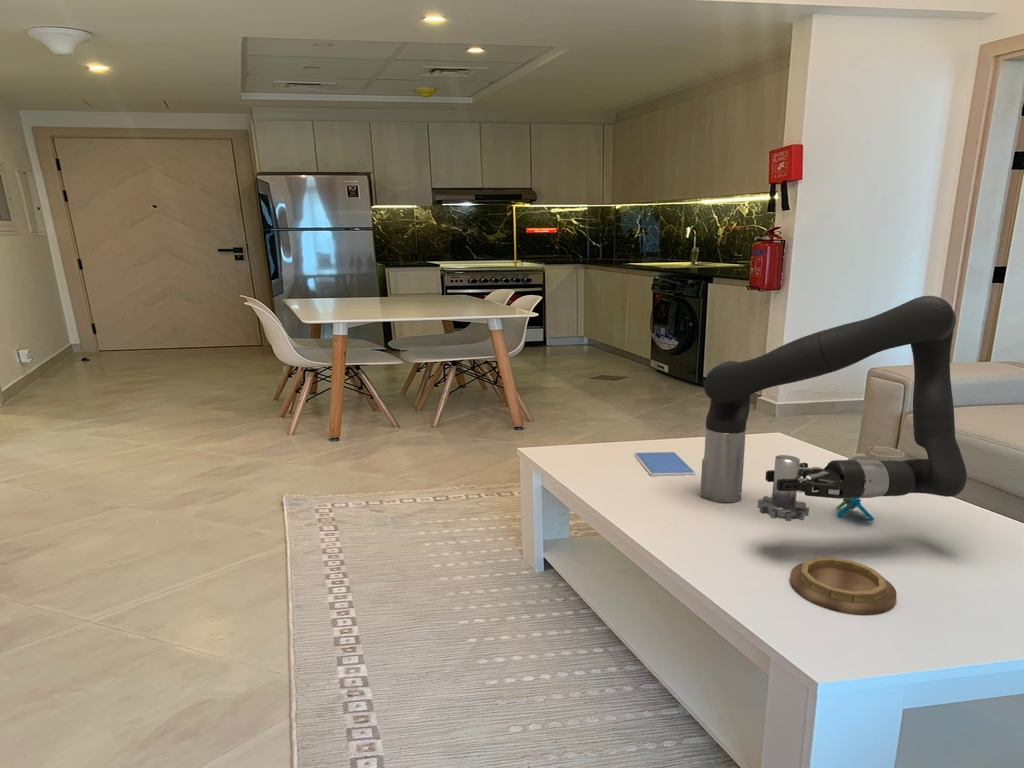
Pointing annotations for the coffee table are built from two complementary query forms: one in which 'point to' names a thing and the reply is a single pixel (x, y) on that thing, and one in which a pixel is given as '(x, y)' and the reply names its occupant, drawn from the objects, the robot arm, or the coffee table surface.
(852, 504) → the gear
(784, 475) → the gear
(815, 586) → the carrier disc
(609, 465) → the coffee table surface
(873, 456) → the mug
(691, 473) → the blue flat plate
